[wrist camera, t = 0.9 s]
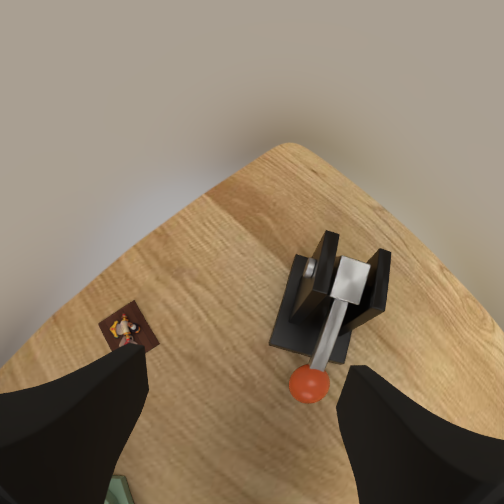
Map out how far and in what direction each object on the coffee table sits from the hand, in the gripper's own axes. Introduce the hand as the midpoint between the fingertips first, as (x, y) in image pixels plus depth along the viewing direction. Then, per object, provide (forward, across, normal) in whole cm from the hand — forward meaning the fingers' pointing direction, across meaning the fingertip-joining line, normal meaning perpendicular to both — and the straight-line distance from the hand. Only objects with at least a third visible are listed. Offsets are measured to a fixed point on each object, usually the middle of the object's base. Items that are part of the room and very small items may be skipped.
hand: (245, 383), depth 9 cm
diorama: (+14, +11, +8) cm, 19 cm away
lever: (+11, -6, +3) cm, 13 cm away
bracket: (+17, -7, +4) cm, 18 cm away
